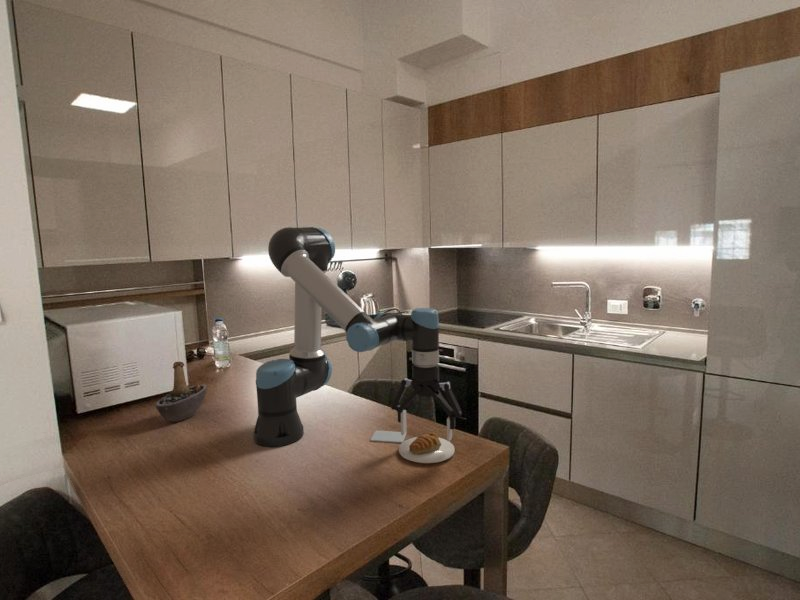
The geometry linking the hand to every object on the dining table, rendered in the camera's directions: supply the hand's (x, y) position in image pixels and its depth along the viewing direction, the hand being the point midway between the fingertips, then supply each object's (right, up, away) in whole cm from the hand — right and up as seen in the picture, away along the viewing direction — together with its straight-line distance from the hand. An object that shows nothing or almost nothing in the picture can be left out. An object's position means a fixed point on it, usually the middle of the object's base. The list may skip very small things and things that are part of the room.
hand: (426, 436), depth 136 cm
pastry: (0, -4, 0) cm, 4 cm away
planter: (-83, -2, +30) cm, 88 cm away
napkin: (-11, -3, +11) cm, 16 cm away
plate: (0, -5, +1) cm, 5 cm away
